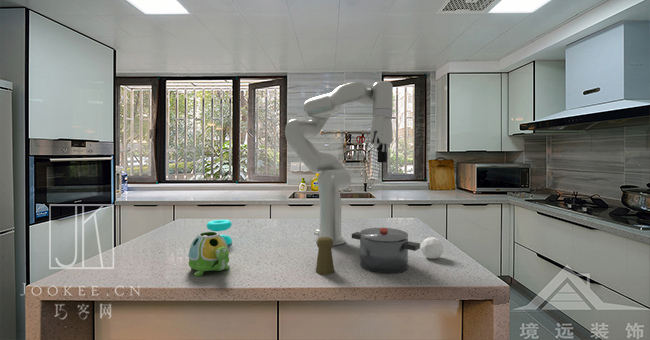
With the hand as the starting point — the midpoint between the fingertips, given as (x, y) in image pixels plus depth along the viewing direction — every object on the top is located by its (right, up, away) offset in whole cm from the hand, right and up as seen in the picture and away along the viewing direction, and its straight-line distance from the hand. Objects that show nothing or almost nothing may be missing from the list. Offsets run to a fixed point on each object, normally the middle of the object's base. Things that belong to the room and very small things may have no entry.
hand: (382, 162), depth 118 cm
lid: (-2, -26, -14) cm, 29 cm away
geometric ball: (+17, -36, -6) cm, 40 cm away
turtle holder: (-59, -36, -19) cm, 72 cm away
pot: (-2, -36, -14) cm, 38 cm away
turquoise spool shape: (-67, -35, +11) cm, 76 cm away
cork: (-22, -36, -19) cm, 46 cm away
